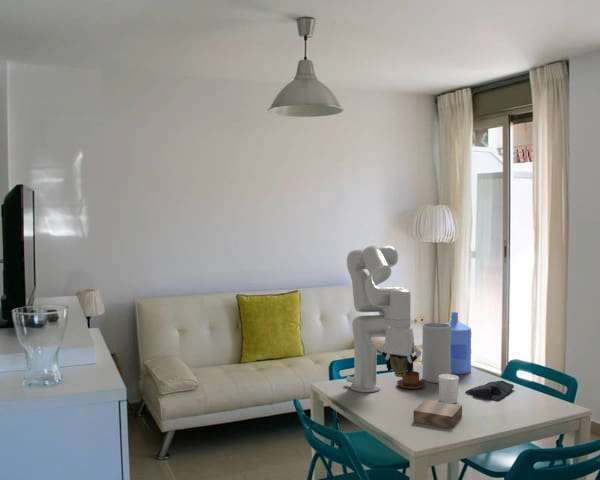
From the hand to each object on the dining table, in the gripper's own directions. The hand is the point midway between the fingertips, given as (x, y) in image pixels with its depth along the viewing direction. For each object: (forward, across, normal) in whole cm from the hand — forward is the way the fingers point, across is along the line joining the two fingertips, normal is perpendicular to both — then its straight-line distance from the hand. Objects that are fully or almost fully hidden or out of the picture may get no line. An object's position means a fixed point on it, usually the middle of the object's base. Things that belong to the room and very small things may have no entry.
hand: (399, 371), depth 211 cm
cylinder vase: (+18, -3, +57) cm, 60 cm away
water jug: (+18, -1, +77) cm, 79 cm away
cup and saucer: (+18, -10, +41) cm, 46 cm away
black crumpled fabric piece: (+18, +22, +50) cm, 58 cm away
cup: (+2, 0, 0) cm, 2 cm away
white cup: (+18, +10, +29) cm, 35 cm away
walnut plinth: (+18, +12, +7) cm, 23 cm away
